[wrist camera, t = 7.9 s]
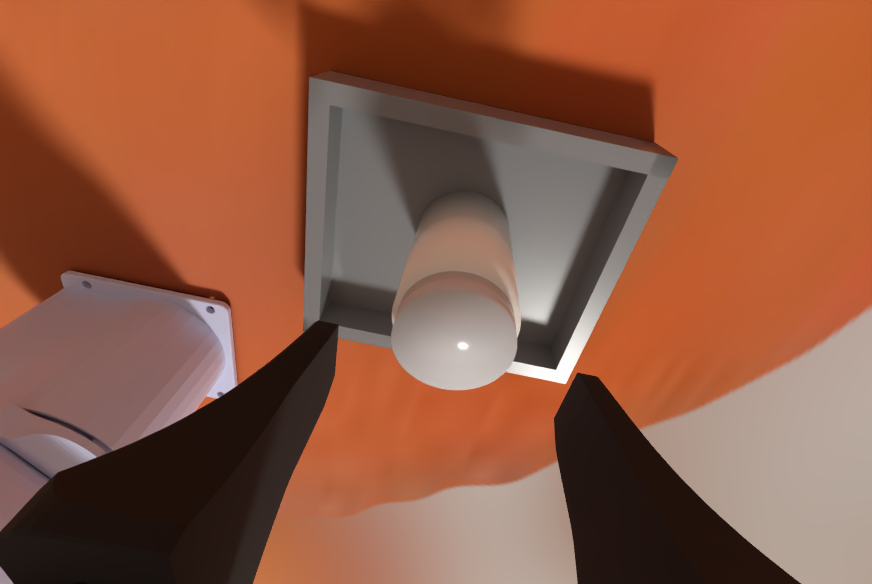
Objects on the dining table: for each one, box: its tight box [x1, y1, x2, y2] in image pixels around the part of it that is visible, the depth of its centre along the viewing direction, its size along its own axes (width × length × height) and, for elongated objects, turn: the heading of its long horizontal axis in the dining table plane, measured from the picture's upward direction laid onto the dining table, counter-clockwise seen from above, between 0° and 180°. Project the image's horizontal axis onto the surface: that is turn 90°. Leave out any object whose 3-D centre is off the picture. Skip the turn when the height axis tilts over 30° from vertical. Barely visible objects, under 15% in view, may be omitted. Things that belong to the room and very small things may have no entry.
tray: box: [303, 71, 678, 384], centre depth 20 cm, size 14×12×2 cm
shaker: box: [391, 191, 521, 390], centre depth 17 cm, size 4×4×8 cm
